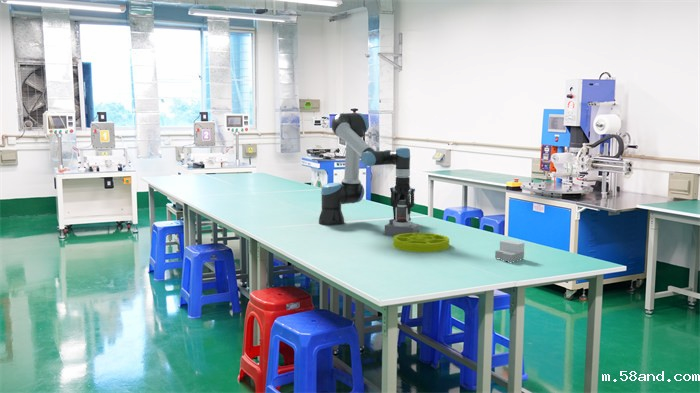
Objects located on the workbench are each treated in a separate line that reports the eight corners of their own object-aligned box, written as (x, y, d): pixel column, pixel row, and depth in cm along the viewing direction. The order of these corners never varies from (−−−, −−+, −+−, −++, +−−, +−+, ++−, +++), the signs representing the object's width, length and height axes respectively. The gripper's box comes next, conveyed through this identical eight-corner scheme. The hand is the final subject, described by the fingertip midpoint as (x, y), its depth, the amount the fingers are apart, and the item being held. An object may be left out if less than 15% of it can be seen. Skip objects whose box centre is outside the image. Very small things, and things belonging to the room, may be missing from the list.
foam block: (492, 260, 285) (493, 243, 284) (505, 257, 293) (505, 239, 292) (511, 264, 279) (512, 246, 277) (523, 260, 286) (524, 242, 285)
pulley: (383, 243, 320) (383, 233, 320) (430, 238, 331) (431, 229, 331) (409, 255, 295) (409, 244, 294) (460, 249, 306) (460, 239, 305)
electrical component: (407, 227, 360) (408, 192, 357) (390, 226, 362) (390, 192, 359) (411, 221, 377) (411, 188, 374) (394, 221, 379) (394, 188, 376)
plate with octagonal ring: (384, 234, 339) (384, 221, 338) (391, 231, 349) (391, 218, 348) (412, 237, 333) (413, 224, 332) (419, 233, 343) (419, 220, 342)
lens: (395, 223, 339) (395, 201, 337) (399, 221, 344) (399, 199, 342) (405, 223, 337) (405, 201, 335) (408, 222, 342) (408, 200, 340)
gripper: (384, 176, 337) (383, 219, 340) (416, 178, 330) (416, 221, 333) (389, 175, 344) (388, 217, 347) (421, 176, 336) (420, 219, 340)
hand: (402, 219), depth 340 cm, fingers closed on lens, 5 cm apart
